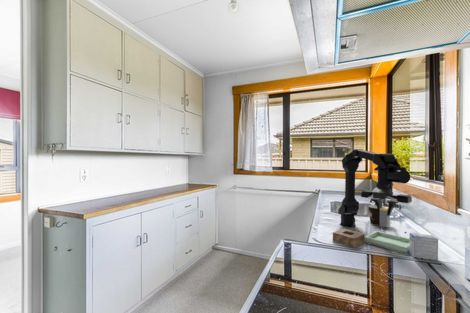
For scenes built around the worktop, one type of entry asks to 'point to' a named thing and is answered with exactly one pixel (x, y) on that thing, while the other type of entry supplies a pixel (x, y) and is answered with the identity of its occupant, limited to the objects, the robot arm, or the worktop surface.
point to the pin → (384, 217)
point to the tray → (388, 241)
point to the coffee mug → (374, 215)
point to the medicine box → (423, 246)
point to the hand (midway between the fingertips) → (384, 215)
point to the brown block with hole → (348, 237)
